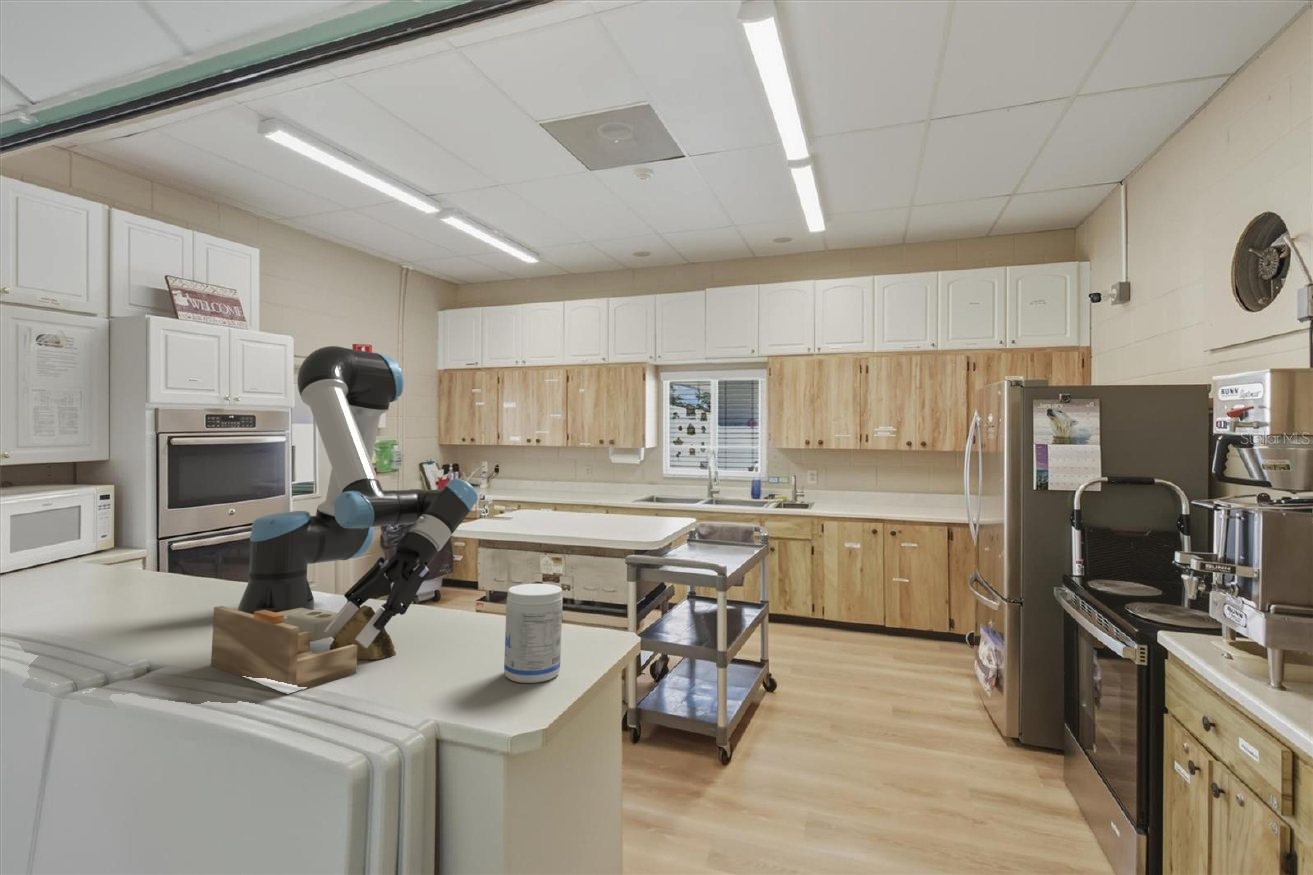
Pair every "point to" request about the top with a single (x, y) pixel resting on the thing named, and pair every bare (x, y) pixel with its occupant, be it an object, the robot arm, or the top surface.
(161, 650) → the top surface
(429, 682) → the top surface
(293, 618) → the grey cinder block
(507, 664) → the supplement tub
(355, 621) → the rock
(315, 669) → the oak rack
